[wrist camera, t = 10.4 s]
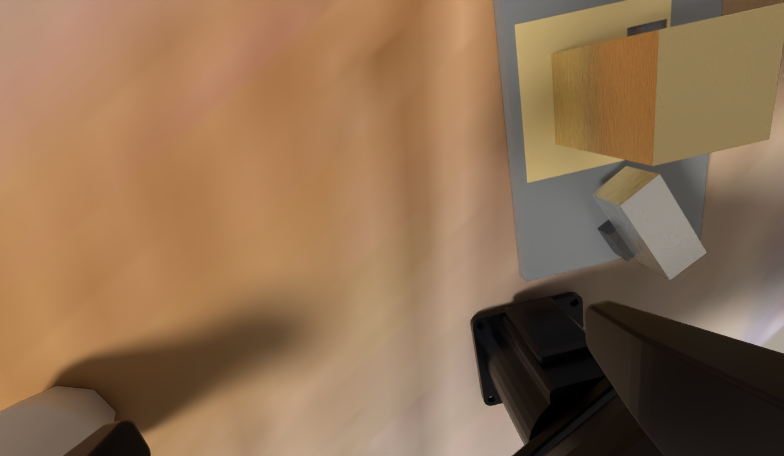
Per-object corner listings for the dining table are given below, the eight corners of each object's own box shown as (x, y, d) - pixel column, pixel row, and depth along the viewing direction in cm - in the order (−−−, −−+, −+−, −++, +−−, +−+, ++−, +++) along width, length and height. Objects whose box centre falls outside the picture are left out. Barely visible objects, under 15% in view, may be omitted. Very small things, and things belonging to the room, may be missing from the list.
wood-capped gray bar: (656, 247, 20) (706, 271, 17) (581, 265, 20) (619, 292, 17) (677, -168, 14) (758, -234, 11) (568, -146, 14) (624, -208, 11)
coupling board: (688, 234, 21) (702, 240, 20) (519, 275, 21) (527, 282, 20) (720, -172, 15) (742, -188, 14) (481, -123, 15) (489, -137, 14)
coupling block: (635, 132, 18) (767, 148, 12) (556, 150, 18) (652, 174, 12) (638, 27, 16) (791, -11, 11) (550, 46, 16) (659, 17, 10)
